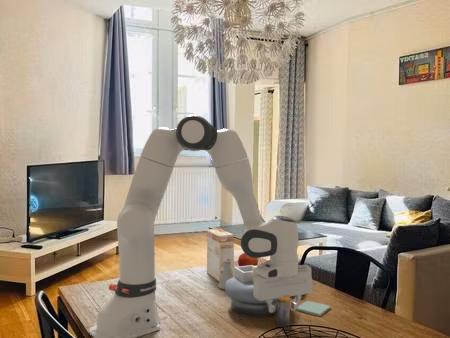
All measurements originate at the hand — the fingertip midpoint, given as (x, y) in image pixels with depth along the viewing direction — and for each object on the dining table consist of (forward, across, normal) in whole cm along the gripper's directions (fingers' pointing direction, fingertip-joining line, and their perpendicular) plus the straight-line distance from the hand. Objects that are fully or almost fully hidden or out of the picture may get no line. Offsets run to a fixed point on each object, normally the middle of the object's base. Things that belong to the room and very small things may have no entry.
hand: (283, 310), depth 141 cm
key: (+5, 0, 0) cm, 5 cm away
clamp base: (+5, +1, -17) cm, 18 cm away
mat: (+5, -16, -7) cm, 19 cm away
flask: (+5, +2, -41) cm, 41 cm away
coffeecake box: (+5, -2, -55) cm, 55 cm away
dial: (-1, +1, -17) cm, 17 cm away
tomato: (+5, -17, -60) cm, 62 cm away
